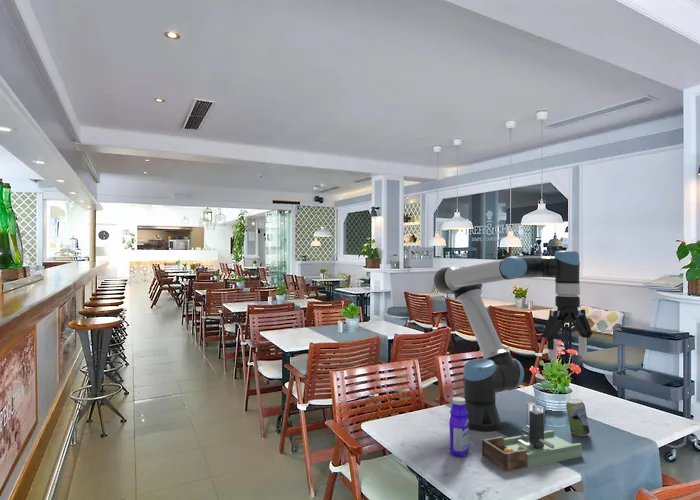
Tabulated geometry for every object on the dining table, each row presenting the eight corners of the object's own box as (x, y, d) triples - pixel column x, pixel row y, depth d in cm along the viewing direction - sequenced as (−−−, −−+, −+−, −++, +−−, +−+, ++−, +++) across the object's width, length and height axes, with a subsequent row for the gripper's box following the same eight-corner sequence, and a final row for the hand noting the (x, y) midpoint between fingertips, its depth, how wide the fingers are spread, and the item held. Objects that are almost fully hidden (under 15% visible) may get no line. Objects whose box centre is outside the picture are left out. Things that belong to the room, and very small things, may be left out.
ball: (501, 447, 134) (510, 443, 135) (499, 454, 136) (508, 449, 137) (509, 457, 131) (518, 452, 132) (507, 463, 133) (516, 459, 134)
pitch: (552, 441, 148) (551, 429, 148) (581, 456, 136) (581, 444, 136) (500, 451, 140) (500, 438, 140) (528, 467, 129) (528, 454, 129)
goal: (502, 451, 139) (502, 436, 140) (526, 467, 129) (526, 450, 129) (482, 455, 137) (482, 439, 137) (505, 471, 127) (505, 454, 127)
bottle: (464, 459, 134) (464, 403, 134) (446, 455, 137) (446, 400, 137) (471, 450, 140) (471, 397, 140) (454, 446, 143) (454, 394, 143)
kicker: (525, 437, 144) (525, 405, 144) (556, 454, 132) (556, 418, 132) (508, 440, 142) (508, 407, 142) (538, 457, 130) (537, 421, 130)
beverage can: (592, 438, 150) (591, 404, 150) (569, 437, 151) (569, 402, 151) (586, 431, 156) (585, 398, 156) (564, 430, 157) (563, 397, 158)
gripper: (585, 293, 156) (585, 352, 156) (530, 295, 147) (531, 357, 147) (603, 295, 149) (604, 356, 149) (547, 297, 140) (548, 362, 140)
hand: (567, 357), depth 148 cm, fingers open, 13 cm apart
